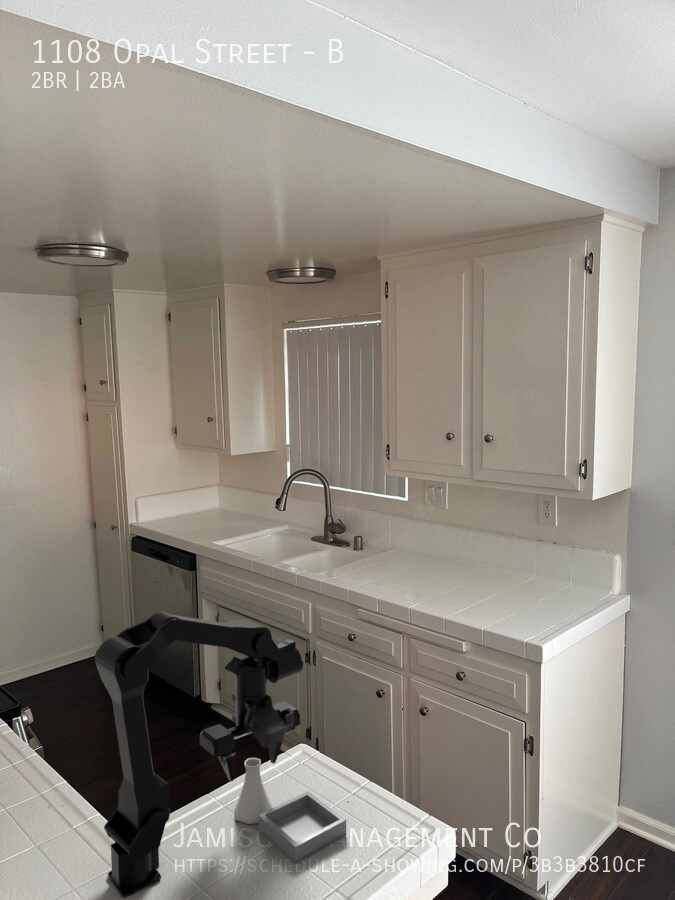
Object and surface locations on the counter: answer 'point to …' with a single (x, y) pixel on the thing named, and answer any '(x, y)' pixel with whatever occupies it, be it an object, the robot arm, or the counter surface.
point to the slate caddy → (302, 826)
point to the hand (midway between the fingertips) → (252, 771)
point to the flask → (252, 794)
